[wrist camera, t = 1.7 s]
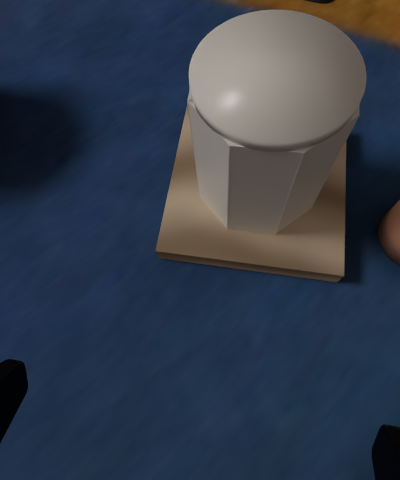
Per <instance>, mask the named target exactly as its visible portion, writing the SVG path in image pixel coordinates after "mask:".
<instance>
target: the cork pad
mask: <svg viewBox="0 0 400 480" xmlns="http://www.w3.org/2000/svg"><path fill="white" fill-rule="evenodd" d="M345 195H346V142H345V144H344V146H343V148H342V150H341V152H340V154H339V156H338V158H337V160H336V162H335V164H334V166H333V167H332V169H331V171H330V173H329V175H328V177H327V179H326V181H325V183H324V185H323V187H322V189H321V191H320V193H319V195H318V197H317V198H316V200H315V202H314V204H313V206H312V208H311V209H310V210H308V211H307V212H305V213H304V214H303V215H301V216H300V217H298V218H297V219H296V220H294V221H293V222H292V223H290V224H289V225H287V226H286V227H285V228H283V229H282V230H281V231H279V232H278V233H276V234H275V235H274V234H266V233H258V232H250V231H242V230H233V229H227V228H226V227H225V226H224V224H223V223H222V222H221V221H220V220H219V218H218V217H217V216H216V215H215V214H214V212H213V211H212V210H211V209H210V208H209V206H208V205H207V204H206V203H205V202H204V201H203V199H202V198H201V197H200V196H199V190H198V183H197V175H196V167H195V159H194V151H193V143H192V135H191V127H190V119H189V112H188V107H187V108H186V113H185V117H184V122H183V127H182V131H181V136H180V140H179V145H178V150H177V154H176V159H175V164H174V168H173V173H172V177H171V182H170V187H169V191H168V196H167V201H166V205H165V210H164V214H163V219H162V224H161V228H160V233H159V238H158V242H157V247H156V253H157V255H158V257H159V258H161V259H168V260H176V261H183V262H190V263H198V264H205V265H213V266H220V267H227V268H235V269H242V270H250V271H257V272H264V273H272V274H279V275H287V276H294V277H301V278H309V279H316V280H324V281H331V282H338V281H339V280H340V279H341V278H343V277H344V260H345Z"/></svg>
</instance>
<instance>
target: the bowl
mask: <svg viewBox="0 0 400 480" xmlns="http://www.w3.org/2000/svg"><path fill="white" fill-rule="evenodd" d="M378 240H379V243H380V245H381V247H382V249H383V251H384V252H385V254H386V255H387V256H388V257H389V258H390V259H391V260H392V261H393V262H395V263H396V264H398V265H399V266H400V200H399V201H398V202H397V203H396V204H395V205H394V206H393V207H392V208H391V209H390V210H389V211H388V212H387V213H386V214H385V215H384V216H383V218H382V219H381V221H380V223H379V226H378Z"/></svg>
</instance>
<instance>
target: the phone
mask: <svg viewBox="0 0 400 480" xmlns="http://www.w3.org/2000/svg"><path fill="white" fill-rule="evenodd" d="M306 1H311V2H315V3H329V2H331V1H332V0H306Z"/></svg>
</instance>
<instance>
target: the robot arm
mask: <svg viewBox="0 0 400 480" xmlns="http://www.w3.org/2000/svg"><path fill="white" fill-rule="evenodd" d="M27 389H28V381H27V375H26V369H25V364H24V363H23V362H22V361H18V360H12V359H8V360H5V361H3V362H1V363H0V443H1V441H2V439H3V437H4V435H5V433H6V431H7V429H8V427H9V426H10V424H11V422H12V420H13V418H14V416H15V414H16V412H17V410H18V408H19V406H20V404H21V403H22V401H23V399H24V397H25V395H26V392H27ZM372 462H373V468H374V474H375V480H400V427H397V426H391V425H382V426H381V427H380V429H379V431H378V434H377V436H376V439H375V442H374V444H373V447H372Z"/></svg>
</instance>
